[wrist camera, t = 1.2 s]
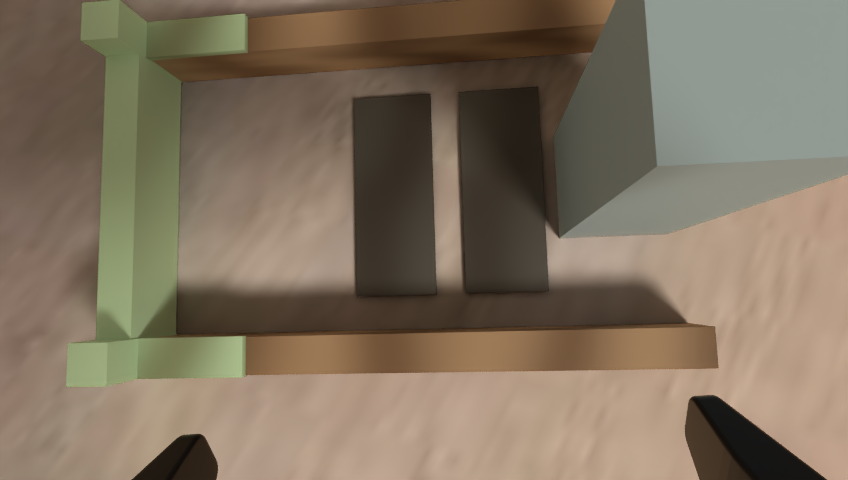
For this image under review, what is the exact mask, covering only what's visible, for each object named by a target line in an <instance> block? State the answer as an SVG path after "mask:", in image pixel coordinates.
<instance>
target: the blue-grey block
mask: <svg viewBox="0 0 848 480" xmlns="http://www.w3.org/2000/svg"><path fill="white" fill-rule="evenodd" d="M554 152H555V170H556V188H557V206H558V224H559V238H577V237H603V236H629V235H654V234H669V233H672V232H675V231H678V230H681V229H684V228H687V227H690V226H693V225H696V224H699V223H703V222H706V221H709V220H712V219H715V218H718V217H721V216H724V215H727V214H730V213H733V212H736V211H739V210H742V209H745V208H748V207H751V206H754V205H757V204H760V203H763V202H766V201H769V200H772V199H775V198H778V197H781V196H784V195H788V194H791V193H794V192H797V191H800V190H803V189H806V188H809V187H812V186H815V185H818V184H821V183H824V182H827V181H830V180H833V179H836V178H839V177H842V176H845V175H848V0H616V1H615V3H614V5H613V8H612V10H611V12H610V14H609V16H608V19H607V21H606V23H605V25H604V27H603V30H602V32H601V34H600V36H599V38H598V41H597V43H596V45H595V47H594V49H593V52H592V54H591V56H590V58H589V60H588V63H587V65H586V67H585V69H584V71H583V73H582V76H581V78H580V80H579V82H578V84H577V87H576V89H575V91H574V93H573V95H572V98H571V100H570V102H569V104H568V106H567V109H566V111H565V113H564V115H563V117H562V120H561V122H560V124H559V126H558V128H557V131H556V133H555V135H554Z"/></svg>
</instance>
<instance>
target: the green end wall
mask: <svg viewBox="0 0 848 480" xmlns="http://www.w3.org/2000/svg"><path fill="white" fill-rule="evenodd" d="M80 41H82V42H83V43H85V44H86V45H88V46H90V47H91V48H93V49H94V50H96V51H97V52H99V53H101V54H102V55H104V56H105V57H106V68H105V96H104V123H103V151H102V179H101V207H100V234H99V262H98V290H97V318H96V340H92V341H84V342H75V343H68V351H67V375H66V387H106V386H110V385H114V384H119V383H123V382H127V381H131V380H135V379H137V368H138V338H156V337H164V336H171V335H177V334H176V315H177V266H178V217H179V168H180V119H181V83H182V82H181V81H180V80H179V79H177V78H176V77H174V76H173V75H172V74H170V73H169V72H167V71H166V70H165V69H163V68H162V67H160V66H159V65H158V64H156V63H155V62H153V61H152V60H149V59H148V58H146V44H147V22H146V21H145V20H144V19H143V18H141V17H140V16H139V15H138V14H137V13H135V12H134V11H133V10H132V9H130V8H129V7H128V6H127V5H126V4H124V3H123V2H122V1H121V0H106V1H95V2H84V3H82V14H81V38H80Z"/></svg>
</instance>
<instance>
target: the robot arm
mask: <svg viewBox="0 0 848 480" xmlns="http://www.w3.org/2000/svg"><path fill="white" fill-rule="evenodd" d="M685 436H686V441H687V444H688V447H689V450H690V453H691V456H692V459H693V462H694V465H695V468H696V471H697V473H698V476H699V479H700V480H827V479H825V478H824V477H823V476H822V475H820V474H819V473H818V472H816V471H815V470H814V469H812V468H811V467H810V466H808V465H807V464H806V463H804V462H803V461H802V460H801V459H799V458H798V457H797V456H795V455H794V454H793V453H791V452H790V451H789V450H787V449H786V448H785V447H783V446H782V445H781V444H779V443H778V442H777V441H776V440H774V439H773V438H772V437H770V436H769V435H768V434H766V433H765V432H764V431H762V430H761V429H760V428H758V427H757V426H756V425H754V424H753V423H752V422H751V421H749V420H748V419H747V418H745V417H744V416H743V415H741V414H740V413H739V412H737V411H736V410H735V409H733V408H732V407H731V406H729V405H728V404H727V403H726V402H724V401H723V400H722V399H720V398H719V397H717V396H714V395H704V396H694V397H691V398H690V400H689V403H688V410H687V417H686V424H685ZM217 473H218V465H217V461H216V458H215V456H214V454H213V452H212V450H211V448H210V446H209V444H208V442H207V440H206V438H205V437H204V436H203V435H201V434H190V435H182V436H180V437H178V438H177V439H176V440H175V441H173V442H172V443H171V444H170V445H169V446H168V447H167V448H166V449H165V450H164V451H163V452H161V453H160V454H159V455H158V456H157V457H156V458H155V459H154V460H153V461H152V462H151V463H149V464H148V465H147V466H146V467H145V468H144V469H143V470H142V471H141V472H140V473H139V474H137V475H136V476H135V477H134V478H133V479H132V480H216V479H217Z"/></svg>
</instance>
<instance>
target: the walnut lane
mask: <svg viewBox="0 0 848 480" xmlns="http://www.w3.org/2000/svg"><path fill="white" fill-rule="evenodd" d="M615 1H616V0H458V1H446V2H435V3H423V4H411V5H399V6H387V7H376V8H364V9H352V10H340V11H329V12H317V13H305V14H293V15H281V16H270V17H258V18H248V17H247V16H246V14H234V15H223V16H211V17H199V18H188V19H176V20H165V21H153V22H147V44H146V58H148V59H149V60H152V61H153V62H155V63H156V64H158V65H159V66H160V67H162V68H163V69H165V70H166V71H167V72H169V73H170V74H172V75H173V76H174V77H176V78H177V79H179V80H180V81H181V82H190V81H204V80H218V79H231V78H245V77H258V76H272V75H286V74H299V73H313V72H327V71H340V70H354V69H368V68H381V67H395V66H409V65H422V64H436V63H450V62H463V61H477V60H491V59H504V58H518V57H532V56H545V55H559V54H573V53H586V52H593V49H594V47H595V45H596V43H597V41H598V38H599V36H600V34H601V32H602V30H603V27H604V25H605V23H606V21H607V19H608V16H609V14H610V12H611V10H612V8H613V5H614V3H615ZM459 110H460V138H461V165H462V192H463V220H464V247H465V274H466V293H496V292H530V291H549V285H548V266H547V247H546V228H545V210H544V191H543V172H542V153H541V134H540V115H539V96H538V87H526V88H511V89H496V90H481V91H466V92H459ZM354 132H355V198H356V265H357V296H392V295H427V294H437V293H436V260H435V228H434V195H433V163H432V130H431V98H430V94H422V95H407V96H392V97H377V98H363V99H354ZM706 368H718V356H717V345H716V333H715V327H713V326H705V325H698V324H691V323H679V324H634V325H589V326H545V327H500V328H456V329H411V330H366V331H322V332H277V333H232V334H188V335H171V336H164V337H156V338H138V368H137V379H162V378H236V377H245V375H280V374H351V373H422V372H493V371H564V370H635V369H706Z"/></svg>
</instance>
